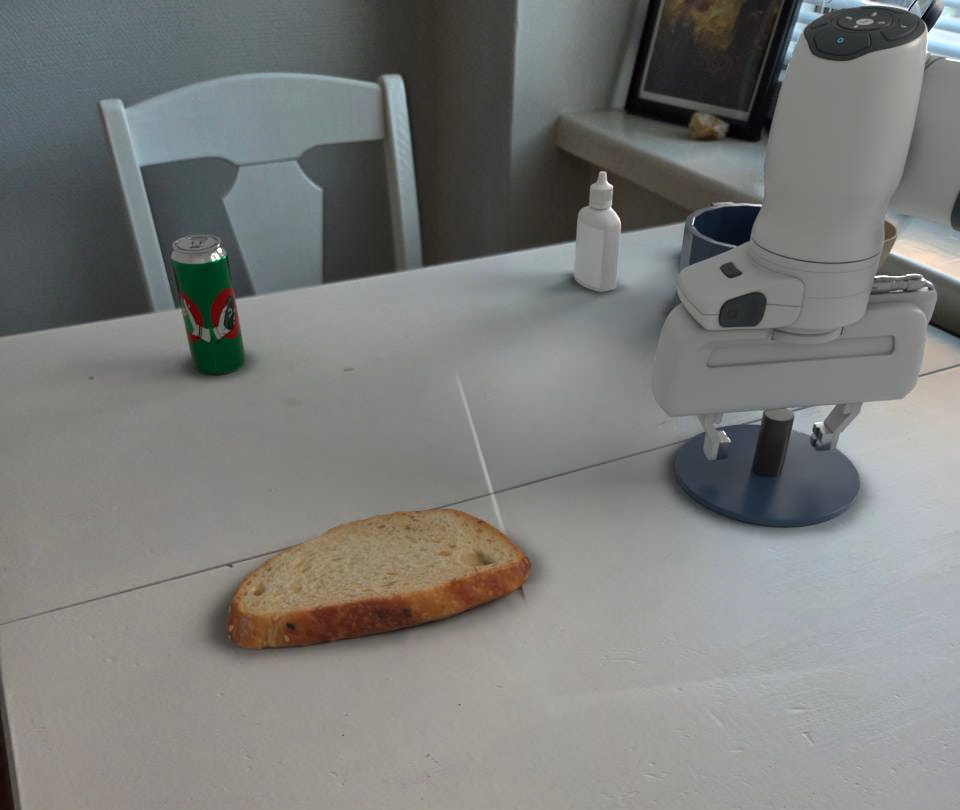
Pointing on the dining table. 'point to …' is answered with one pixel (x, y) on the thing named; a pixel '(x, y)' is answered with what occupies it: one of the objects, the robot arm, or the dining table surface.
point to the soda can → (208, 304)
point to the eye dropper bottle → (598, 239)
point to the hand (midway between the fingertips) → (768, 451)
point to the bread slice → (375, 579)
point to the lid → (769, 475)
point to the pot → (715, 232)
